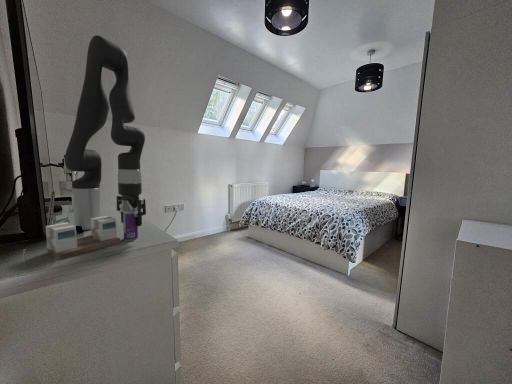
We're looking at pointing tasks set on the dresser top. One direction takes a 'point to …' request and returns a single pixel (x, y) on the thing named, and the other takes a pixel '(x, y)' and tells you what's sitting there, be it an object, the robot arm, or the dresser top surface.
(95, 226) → the board
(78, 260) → the dresser top surface
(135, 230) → the container
